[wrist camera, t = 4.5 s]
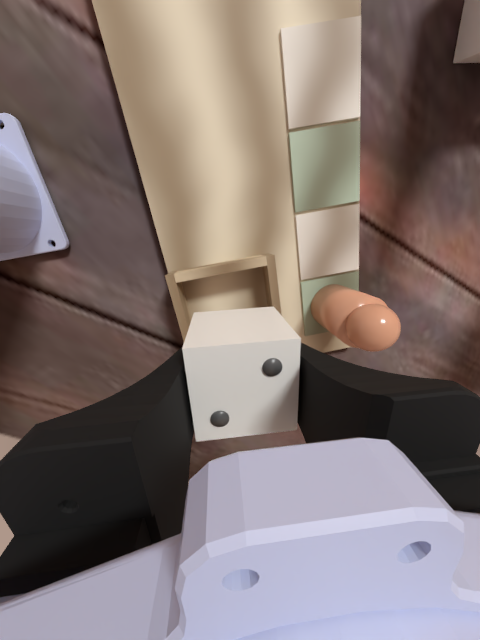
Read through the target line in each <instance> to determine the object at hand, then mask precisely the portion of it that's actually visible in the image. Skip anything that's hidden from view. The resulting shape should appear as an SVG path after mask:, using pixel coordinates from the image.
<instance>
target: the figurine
mask: <svg viewBox="0 0 480 640" xmlns="http://www.w3.org/2000/svg"><path fill="white" fill-rule="evenodd" d="M453 63H480V0H465V1H464V6H463V12H462V17H461V22H460V28H459V33H458V38H457V44H456V49H455V54H454V60H453Z"/></svg>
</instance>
